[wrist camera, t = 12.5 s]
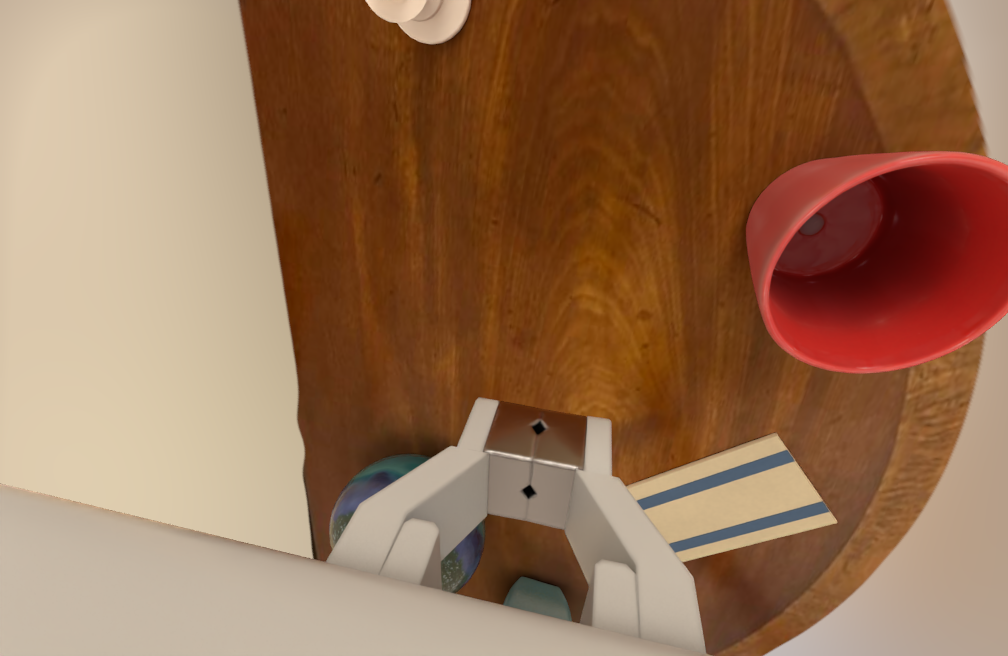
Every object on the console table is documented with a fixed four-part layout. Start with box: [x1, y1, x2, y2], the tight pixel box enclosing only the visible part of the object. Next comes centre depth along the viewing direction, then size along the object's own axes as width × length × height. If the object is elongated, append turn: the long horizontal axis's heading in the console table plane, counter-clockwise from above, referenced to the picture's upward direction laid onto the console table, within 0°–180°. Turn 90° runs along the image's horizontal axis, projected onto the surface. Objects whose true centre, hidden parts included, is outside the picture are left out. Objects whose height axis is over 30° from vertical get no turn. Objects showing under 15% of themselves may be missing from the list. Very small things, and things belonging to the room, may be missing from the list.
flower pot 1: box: [503, 577, 572, 622], centre depth 51 cm, size 9×9×9 cm
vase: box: [329, 454, 485, 593], centre depth 43 cm, size 15×15×13 cm
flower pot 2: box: [746, 151, 1008, 373], centre depth 24 cm, size 11×11×10 cm
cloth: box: [626, 433, 837, 562], centre depth 43 cm, size 20×12×1 cm, turn 130°
